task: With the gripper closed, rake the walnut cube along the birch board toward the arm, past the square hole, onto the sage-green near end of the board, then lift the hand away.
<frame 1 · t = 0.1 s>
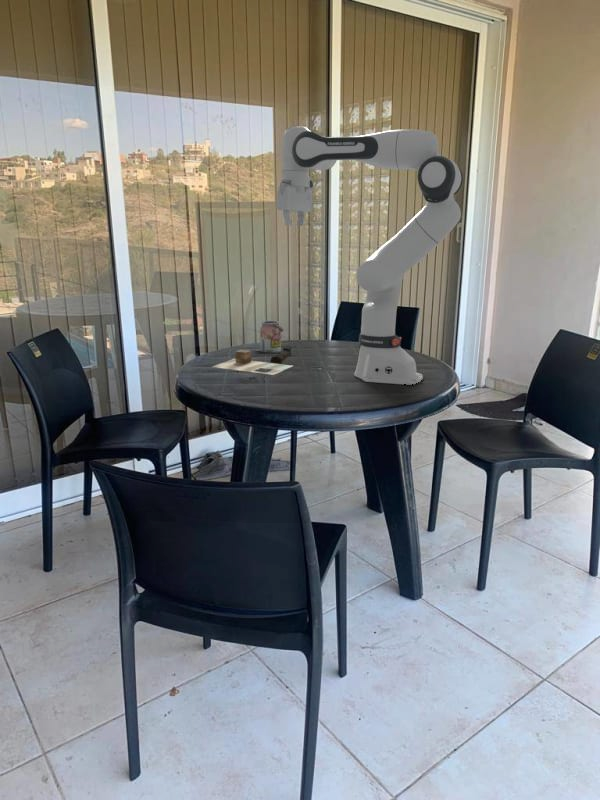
hand: (294, 225, 192), 48 cm above the table, tool pointing down, fingers open, 8 cm apart
birch board: (252, 370, 198), on the table
walnut cube: (243, 362, 203), point 1 cm above the table, touching birch board
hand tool: (281, 362, 213), on the table
beverage can: (271, 352, 229), on the table
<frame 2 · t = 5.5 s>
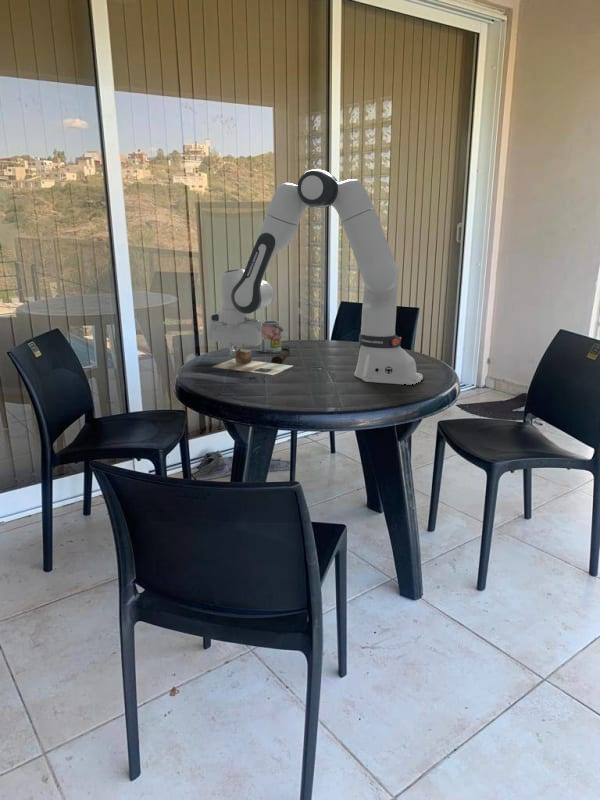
hand: (235, 355, 204), 4 cm above the table, tool pointing down, fingers closed
walnut cube: (243, 362, 203), point 2 cm above the table, touching birch board, gripper
everything else where it was.
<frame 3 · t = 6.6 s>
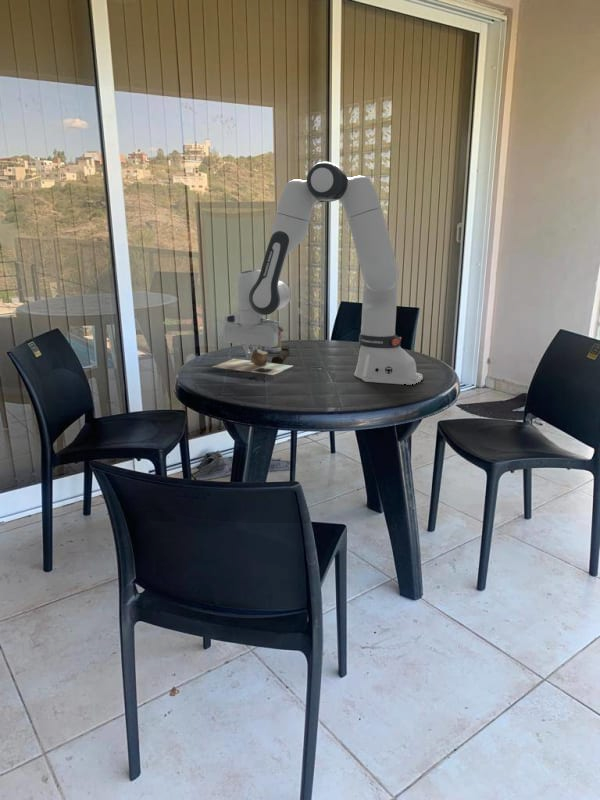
hand: (250, 357, 202), 4 cm above the table, tool pointing down, fingers closed
walnut cube: (258, 362, 201), point 2 cm above the table, tilted 12°, touching birch board, gripper
everything else where it was.
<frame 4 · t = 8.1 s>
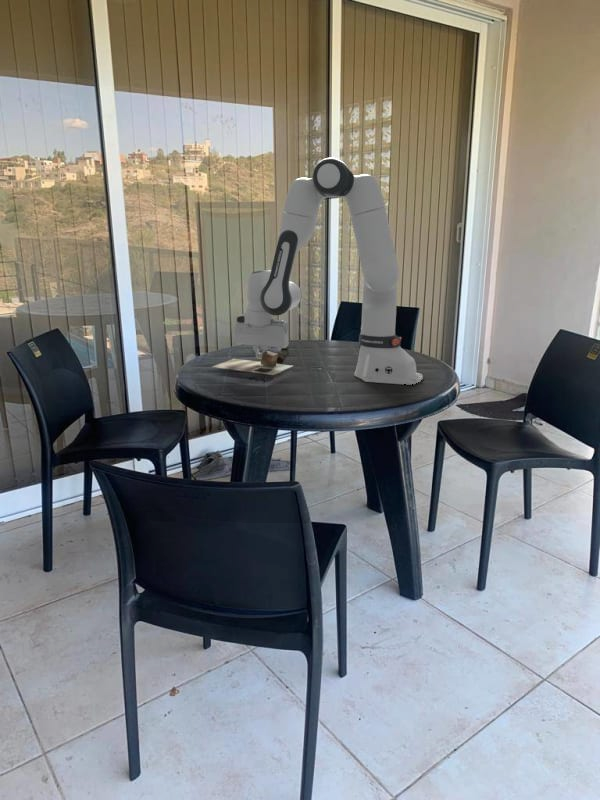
hand: (260, 358, 200), 4 cm above the table, tool pointing down, fingers closed
walnut cube: (268, 364, 199), point 2 cm above the table, tilted 10°, touching birch board, gripper
everything else where it was.
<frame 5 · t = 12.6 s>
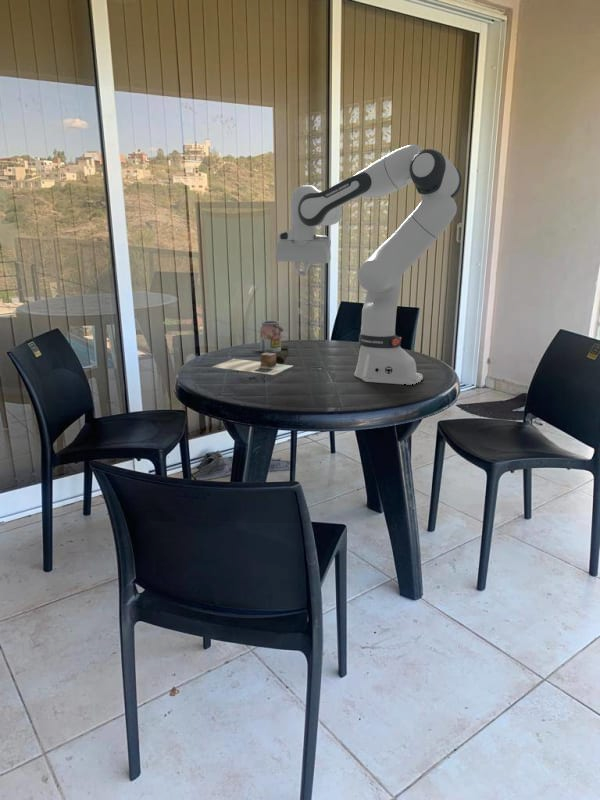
hand: (302, 275, 206), 31 cm above the table, tool pointing down, fingers closed
walnut cube: (268, 365, 199), point 1 cm above the table, touching birch board
everything else where it was.
at the end: walnut cube inside the target area (2.0 cm from its centre), point 1.5 cm above the table; walnut cube tilted 0°; walnut cube moved 10.0 cm from its start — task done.
